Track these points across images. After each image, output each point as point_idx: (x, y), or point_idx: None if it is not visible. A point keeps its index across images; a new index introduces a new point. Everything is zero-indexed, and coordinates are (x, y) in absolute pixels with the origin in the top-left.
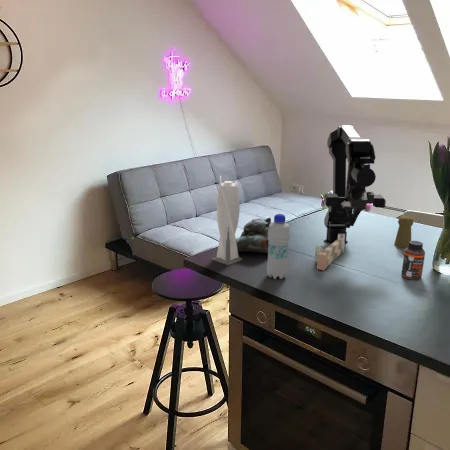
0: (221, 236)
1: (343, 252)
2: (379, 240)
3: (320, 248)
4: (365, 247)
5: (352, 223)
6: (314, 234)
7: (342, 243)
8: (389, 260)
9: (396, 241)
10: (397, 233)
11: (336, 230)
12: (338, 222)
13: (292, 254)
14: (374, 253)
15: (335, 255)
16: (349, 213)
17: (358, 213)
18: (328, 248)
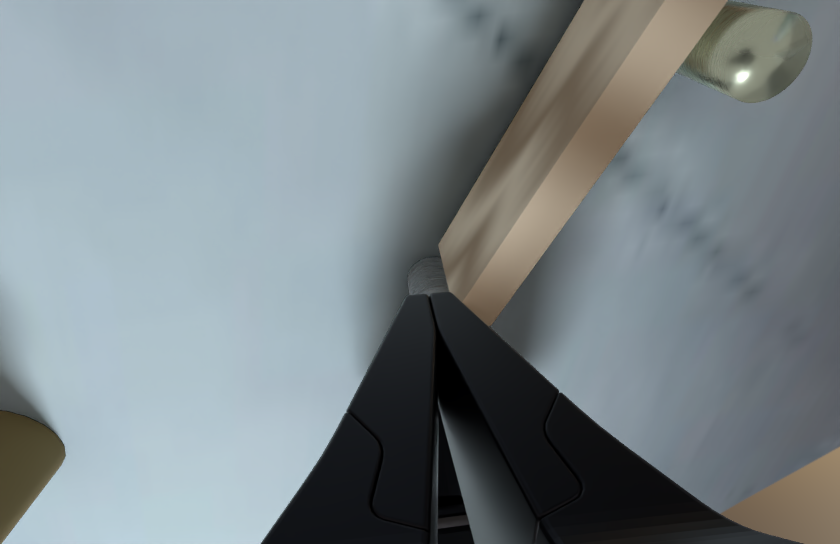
0: None
1: (410, 275)
2: (164, 488)
3: (774, 13)
4: (248, 389)
5: (432, 316)
6: None
7: None
8: (48, 188)
9: (30, 461)
10: (1, 521)
11: (451, 482)
12: (460, 536)
13: (774, 210)
14: (183, 306)
15: (506, 152)
16: (610, 473)
17: (323, 507)
18: (658, 61)
